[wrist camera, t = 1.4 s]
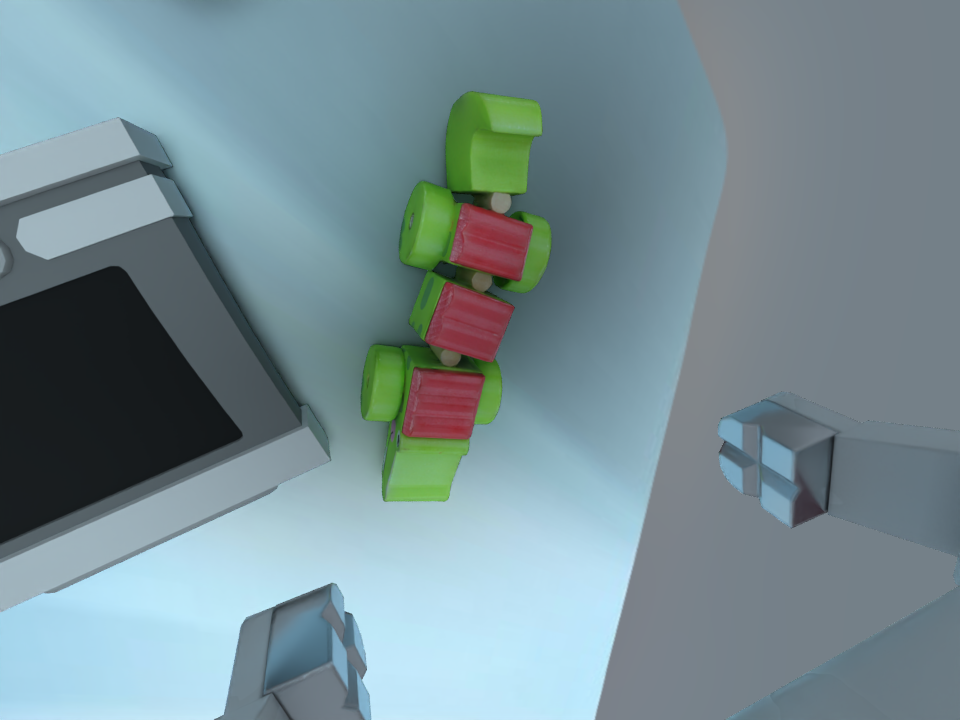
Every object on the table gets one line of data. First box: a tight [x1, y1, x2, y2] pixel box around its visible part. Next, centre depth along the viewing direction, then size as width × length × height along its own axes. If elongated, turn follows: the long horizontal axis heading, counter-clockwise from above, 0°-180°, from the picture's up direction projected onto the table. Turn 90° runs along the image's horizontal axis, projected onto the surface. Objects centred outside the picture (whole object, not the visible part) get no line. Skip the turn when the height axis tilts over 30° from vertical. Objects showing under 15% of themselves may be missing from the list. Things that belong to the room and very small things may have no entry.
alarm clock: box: [0, 117, 331, 612], centre depth 19 cm, size 17×5×16 cm
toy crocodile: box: [361, 91, 552, 502], centre depth 22 cm, size 20×7×6 cm, turn 163°
